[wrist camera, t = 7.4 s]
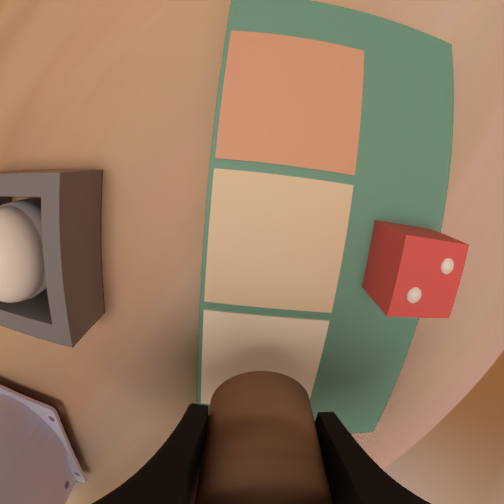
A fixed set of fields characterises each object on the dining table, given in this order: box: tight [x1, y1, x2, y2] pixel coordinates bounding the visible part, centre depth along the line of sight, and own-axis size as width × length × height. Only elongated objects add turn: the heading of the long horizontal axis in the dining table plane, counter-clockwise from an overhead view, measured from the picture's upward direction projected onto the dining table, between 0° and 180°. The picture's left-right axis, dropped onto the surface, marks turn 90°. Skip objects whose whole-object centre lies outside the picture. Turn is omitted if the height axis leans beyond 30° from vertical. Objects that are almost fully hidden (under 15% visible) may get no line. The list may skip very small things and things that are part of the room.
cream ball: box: [0, 198, 47, 303], centre depth 11 cm, size 4×4×4 cm
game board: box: [197, 0, 469, 434], centre depth 12 cm, size 22×11×4 cm, turn 174°
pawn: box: [195, 371, 332, 504], centre depth 9 cm, size 4×4×5 cm
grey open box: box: [0, 170, 105, 348], centre depth 12 cm, size 7×7×4 cm
